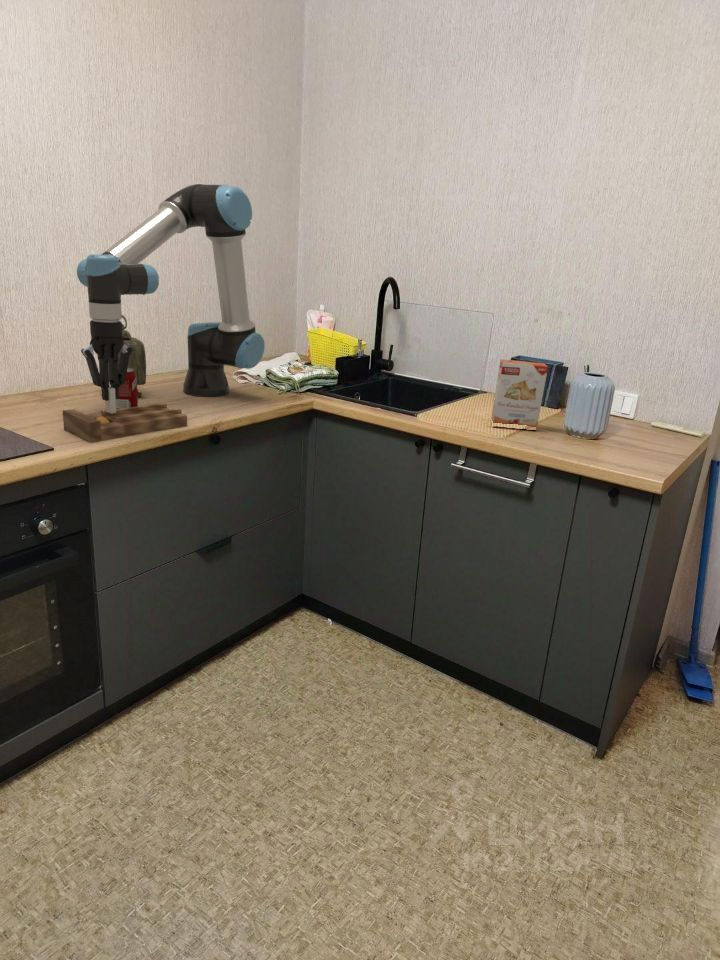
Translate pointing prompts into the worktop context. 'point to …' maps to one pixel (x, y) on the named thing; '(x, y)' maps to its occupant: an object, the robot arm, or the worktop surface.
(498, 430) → the worktop surface
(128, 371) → the soda can
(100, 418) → the ball
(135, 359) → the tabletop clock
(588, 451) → the worktop surface
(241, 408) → the worktop surface
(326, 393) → the worktop surface
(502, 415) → the cracker box
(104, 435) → the board
